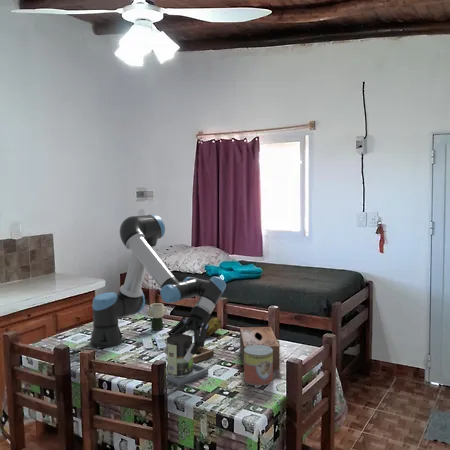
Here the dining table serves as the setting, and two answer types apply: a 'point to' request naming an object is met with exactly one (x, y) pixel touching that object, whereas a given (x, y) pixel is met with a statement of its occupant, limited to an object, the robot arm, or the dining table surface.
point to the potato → (213, 326)
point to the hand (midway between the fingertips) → (175, 356)
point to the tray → (197, 373)
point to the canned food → (258, 365)
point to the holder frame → (203, 354)
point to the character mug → (157, 315)
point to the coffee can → (179, 355)
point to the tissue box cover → (260, 341)
